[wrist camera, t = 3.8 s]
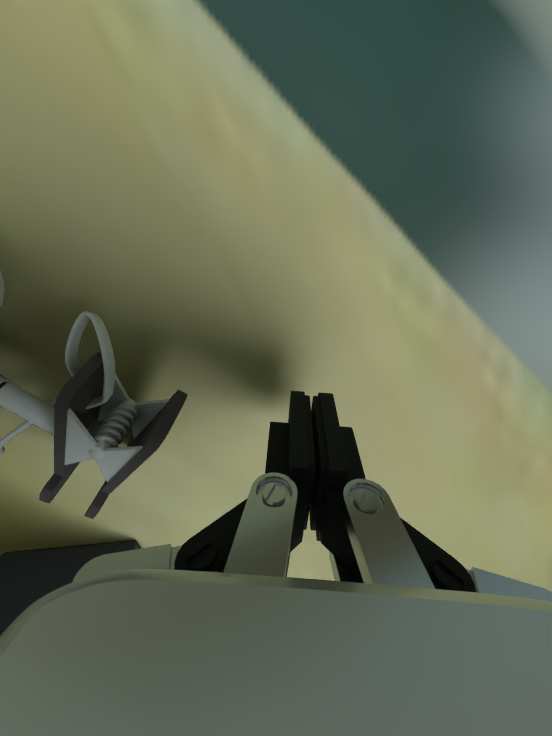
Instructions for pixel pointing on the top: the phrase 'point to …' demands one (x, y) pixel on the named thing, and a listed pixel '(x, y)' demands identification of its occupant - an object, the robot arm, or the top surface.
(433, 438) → the top surface
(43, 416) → the clip-on lamp
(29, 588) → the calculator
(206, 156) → the top surface
